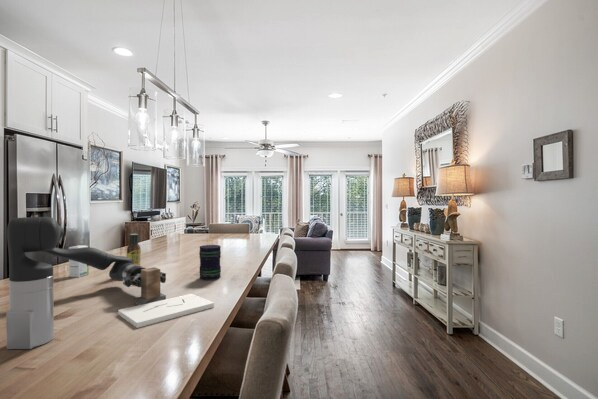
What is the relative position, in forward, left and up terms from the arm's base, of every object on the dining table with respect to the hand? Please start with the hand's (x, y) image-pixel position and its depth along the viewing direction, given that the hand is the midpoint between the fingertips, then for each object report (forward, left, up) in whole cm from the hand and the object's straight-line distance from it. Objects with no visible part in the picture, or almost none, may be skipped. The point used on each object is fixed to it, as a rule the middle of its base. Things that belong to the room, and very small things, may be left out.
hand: (152, 282), depth 123 cm
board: (-9, -9, -8) cm, 14 cm away
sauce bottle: (+45, +28, -8) cm, 54 cm away
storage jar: (+37, -12, -8) cm, 40 cm away
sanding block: (+1, +1, -8) cm, 8 cm away
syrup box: (+42, +53, -8) cm, 69 cm away
